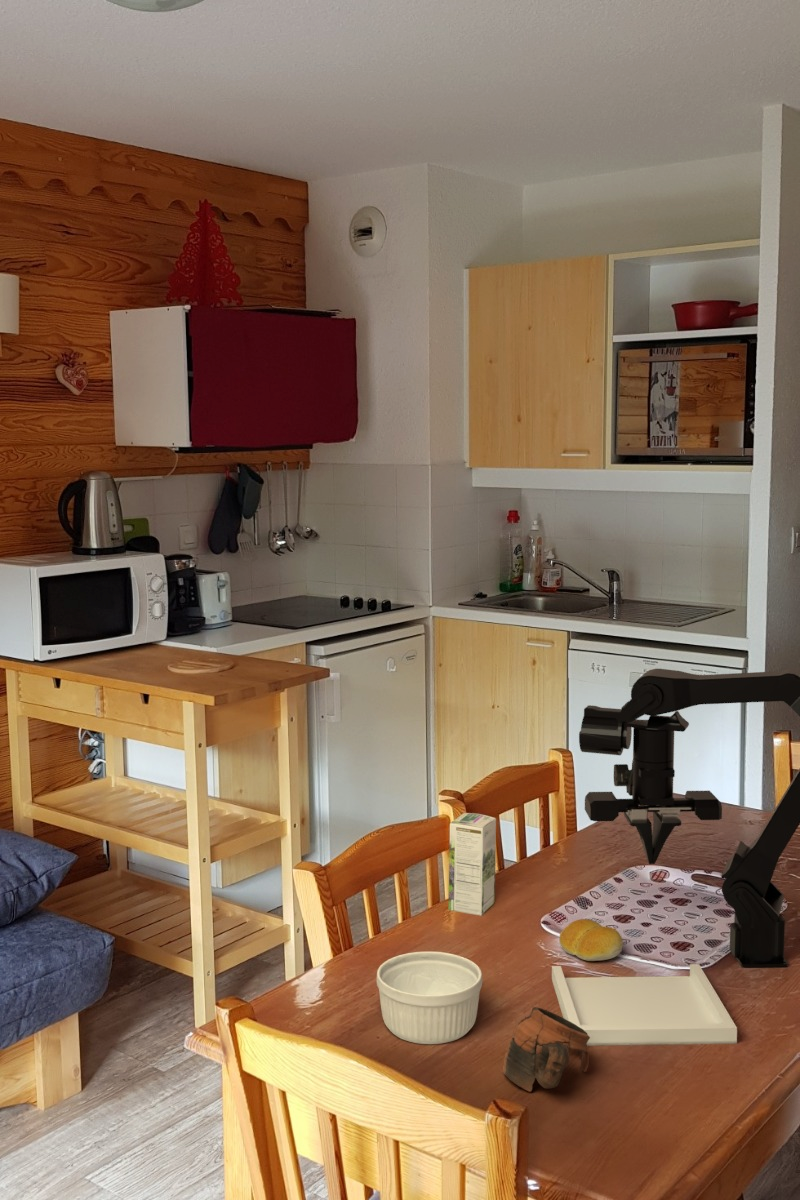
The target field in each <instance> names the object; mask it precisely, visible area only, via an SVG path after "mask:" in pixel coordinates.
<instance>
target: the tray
mask: <svg viewBox="0 0 800 1200" xmlns="http://www.w3.org/2000/svg"><path fill="white" fill-rule="evenodd" d="M551 981H552V985H553V988H554V992H555V994H556V997H557V1002H558V1005H559V1008H560V1011H561V1015H562V1018H564V1019H566V1020H568V1021H570V1022H572V1023H573V1024H575V1025H577V1026H578V1027H580V1028H581V1029H583V1030H584V1031H585V1032H586V1033H587V1035H588V1036H589V1037H590V1039H589V1040H588V1042H587V1047H588V1046H590V1047H591V1046H592V1047H593V1046H595V1047H596V1046H642V1045H643V1046H647V1045H648V1046H650V1045H651V1046H658V1045H660V1046H661V1045H663V1046H664V1045H668V1046H670V1045H671V1046H672V1045H673V1046H674V1045H725V1044H726V1045H727V1044H728V1045H729V1044H731V1045H732V1044H733V1045H736V1044H738V1039H737V1038H738V1026H736V1024H735V1023H734V1020H733V1019H732V1017H731V1015H730V1013H729V1012H728V1011H727V1009H726V1006H724V1004H723V1002H722V1001H721V999H720V996H719V995H718V994H717V992H716V990H715V989H714V987H713V986H712V984H711V982H710V981H709V979H708V977H707V975H706V974H705V972H704V970H703V969H702V967H701V965H700V963H698V964H697V963H693V964H691V963H690V964H689V975H685V976H684V975H683V976H680V975H678V976H677V975H676V976H674V975H673V976H670V975H669V976H615V977H614V976H608V977H607V976H605V977H604V976H601V977H600V976H597V977H596V976H593V977H588V976H586V977H565V974H564V972H563V968H562V965H552V966H551Z"/></svg>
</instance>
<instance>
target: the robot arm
mask: <svg viewBox="0 0 800 1200" xmlns="http://www.w3.org/2000/svg"><path fill="white" fill-rule="evenodd" d="M631 687H632V688H631V689H630V697H631V699H629V700H628V701H627V702H626V703H625V704H624V705H622V706H621V708H611V707H601V706H597V705H587V706H586V707H584V709H583V717H582V721H581V724H580V731H579V733H578V743H579V748H580V749H579V750H580V751H581V752H582V753H591V754H602V755H610V756H611V755H612V756H613V755H614V756H622V754H623V752H624V750H629V749H630V747H631V742H632V746H633V747H632V763H631V769H629V765H628V764H627V763H626V764H625V763H623V764H622V763H621V764H620V763H619V764H617V763H616V764H614V765H613V785H614V786H615V787H625V789H626V793H627V794H628V795H629V796H630V797H631V796H632V797H631V798H617V797H616V795H615V794H614V793H613V791H589V792H587V794H586V795H585V797H584V811H585V813H586V815H587V816H588V819H589V820H590V821H593V822H614V821H615V820H617V818H618V817H619V815H620V813H623V816H624V818H625V819H626V821H627V822H628V824H629V825H630V826H631V827H635V828H636V830H637V832H638V835H639V837H640V840H641V843H642V846H643V850H644V854H645V857H646V860H647V862H648V864H649V865H655V864H656V862H657V860H658V858H659V856H660V854H661V852H662V850H663V847H664V845H665V843H666V841H667V840H668V838H669V836H670V835H671V833H672V832H673V831H674V829H675V827H680V826H681V825H682V820H681V819H680V817H679V815H680V814H681V812H684V813H685V812H686V813H688V812H690V813H691V812H694V815H695V816H696V817H697V818H698V819H699V820H700V821H720V820H722V819H723V818H722V817H723V807H722V806H723V805H722V802H721V801H720V800H719V798H717V797H716V795H714V793H712V792H711V791H710V790H686V791H685V795H684V797H677V798H676V797H674V778H675V772H676V771H675V769H674V765H675V764H674V761H675V760H674V759H675V732H682V733H683V732H685V731H686V730H687V728H688V727H689V726H690V722H689V721H688V720H687V719H685V718H683V716H682V715H681V713H680V712H679V711H680V710H684V709H687V708H691V707H696V706H698V705H716V704H717V705H718V704H720V705H721V704H743V703H764V702H765V703H766V702H768V703H769V702H784V703H785V704H786V705H788V706H789V707H790V708H791V709H792V710H793V711H794V713H796V715H798V716H799V717H800V671H799V670H797V669H795V668H787V669H785V670H777V671H775V670H774V671H759V672H758V671H757V672H739V673H719V674H718V673H717V674H715V673H714V674H697V673H689V672H685V671H682V670H675V669H674V670H673V669H666V668H653V669H649V670H647V671H646V672H644V673H643V674H642V675H641V676H640V677H638V679H637V680H636V681H635V682H634V683H633V685H632V686H631ZM672 712H673V714H672V715H670V716H669V715H663V714H669V713H672ZM643 716H649V717H648V719H640V718H641V717H643ZM632 728H633V732H632ZM632 733H633V741H632ZM649 813H652V820H653V821H651V820H650V819H649V817H648V816H649ZM652 823H653V825H652ZM799 826H800V767H799V768H798V770H797V772H796V774H795V775H794V777H793V779H792V780H791V782H790V784H789V785H788V787H787V788H786V790H785V792H784V793H783V795H782V796H781V799H780V800H779V801H778V803H777V805H776V806H775V809H774V810H773V812H772V813H771V815H770V817H769V819H768V820H767V822H766V823H765V825H764V826H763V829H761V832H760V833H759V835H758V836H757V837H756V839H754V841H752V843H750V844H749V845H747V844H745V842H743V841H741V840H740V841H739V842H738V845H737V848H736V850H735V852H734V855H733V856H732V857H731V858H729V859H728V860H727V862H726V865H725V866H724V869H723V871H722V873H721V876H720V878H721V879H724V881H723V884H722V886H721V892H722V896H723V898H724V900H725V902H726V904H728V905H729V906H730V907H731V908H732V909H733V911H734V920H733V921H734V922H731V923H730V928H729V929H730V932H729V951H730V953H731V954H732V955H733V957H734V958H735V959H736V960H737V963H739V964H740V966H741V967H742V968H777V967H778V968H784V967H788V966H789V961H788V960H787V959H786V958H785V939H786V938H785V934H786V933H785V932H786V919H785V918H784V917H783V916H782V914H781V911H782V907H783V902H784V899H785V894H784V893H783V892H782V891H781V890H780V889H779V888H778V887H777V885H776V884H774V883H773V881H772V878H773V876H774V873H775V870H776V866H777V864H778V861H779V860H780V856H781V855H782V854H783V852H784V850H785V848H787V846H788V844H789V842H790V841H791V839H792V838H793V836H794V834H795V832H796V831H797V829H798V827H799Z"/></svg>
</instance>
